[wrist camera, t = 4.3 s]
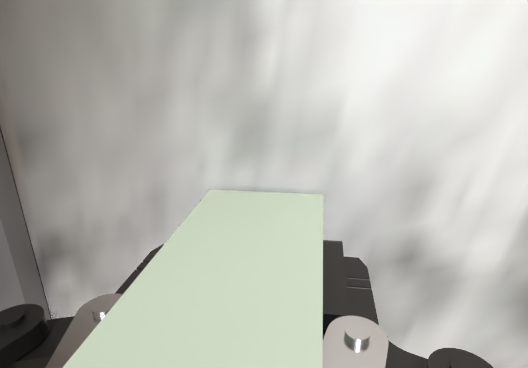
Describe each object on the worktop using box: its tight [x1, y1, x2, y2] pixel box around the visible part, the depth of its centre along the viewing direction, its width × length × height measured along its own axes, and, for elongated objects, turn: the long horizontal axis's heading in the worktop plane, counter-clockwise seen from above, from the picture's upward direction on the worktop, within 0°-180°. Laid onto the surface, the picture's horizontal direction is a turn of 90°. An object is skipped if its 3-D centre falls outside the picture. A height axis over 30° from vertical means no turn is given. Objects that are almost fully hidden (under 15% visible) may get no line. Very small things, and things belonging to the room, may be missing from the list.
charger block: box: [63, 189, 323, 368], centre depth 9 cm, size 4×4×8 cm
